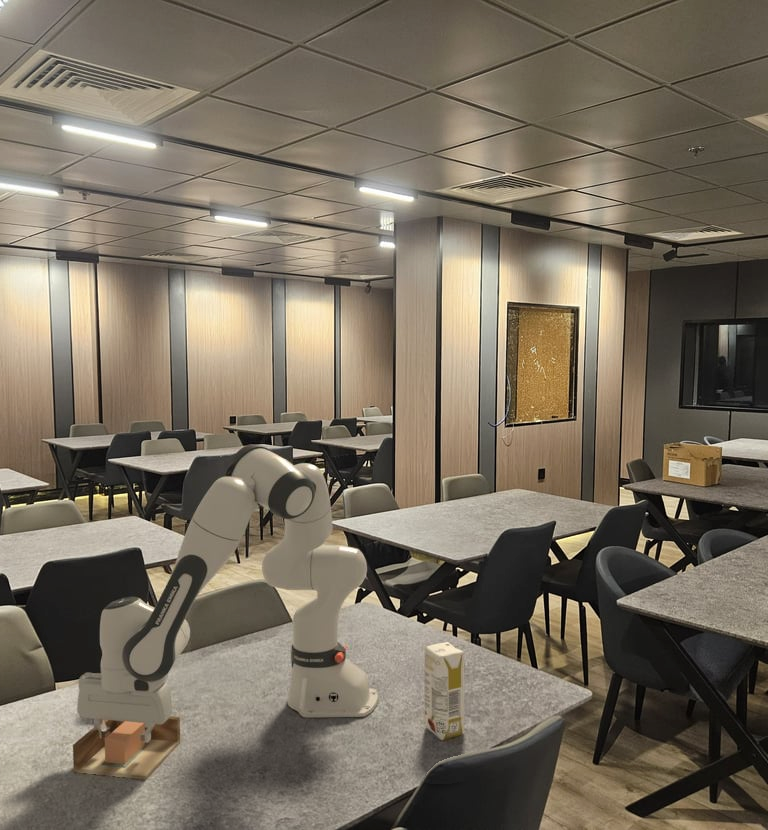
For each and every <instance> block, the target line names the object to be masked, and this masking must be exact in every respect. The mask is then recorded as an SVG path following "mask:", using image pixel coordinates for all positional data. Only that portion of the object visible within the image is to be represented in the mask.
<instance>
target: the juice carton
mask: <svg viewBox="0 0 768 830" xmlns="http://www.w3.org/2000/svg"><path fill="white" fill-rule="evenodd" d="M424 650H425V651H424V723H425V728H426V729H427V730H428V731H429V732H431V733H432V734H434V735H435V737H436V738H438V739H439V740H440V741H443V740H448V739H451V738H454V737H458V736H462V735H464V734H465V724H466V723H465V717H466V716H465V715H466V713H465V711H466V710H465V709H466V707H465V706H466V705H465V704H466V703H465V701H466V700H465V699H466V697H465V696H466V693H465V692H466V691H465V689H466V688H465V687H466V686H465V683H466V682H465V679H466V677H465V674H466V673H465V667H466V666H465V665H466V663H465V662H466V661H465V651H463V650H461V649H459V648H456V647H454V645H452V644H451V643H450V642H447V641H446V642H442V643H441V642H440V643H435V644H431V645H427V646H425V647H424Z"/></svg>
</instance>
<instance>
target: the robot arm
mask: <svg viewBox="0 0 768 830" xmlns="http://www.w3.org/2000/svg"><path fill="white" fill-rule="evenodd" d="M224 475H225V476H221V477H219V478H218V479H217V480H215V481H214V482H213V484H212V485H211V486H210V488H209V489H208V490H207V492H206V493H205V494H204V496H203V497H202V499H201V501H200V502H199V504H198V506H197V508H196V510H195V512H194V513H193V515H192V517H191V520H190V521H189V525H187V529H186V530H185V531H186V532H185V533H184V537H183V539H182V542H181V545H180V549H179V551H178V554H177V557H176V561H175V563H174V565H173V568H172V571H171V574H170V577H169V579H168V580H167V583H166V585H165V587H164V589H163V591H162V593H161V595H160V597H159V599H158V601H157V603H156V605H155V607H154V606H152V605H149V604H147V603H146V602H145V601H143V600H142V599H141V598H139V597H137V596H127V597H122V598H119V599H117V600H114V601H111V602H110V603H109V604H107V605H106V606H105V607H104V608H103V610H102V611H101V615H100V623H99V645H100V649H101V653H102V656H101V660H100V673H99V672H97V673H96V672H95V673H93V672H85V673H84V674H82V675H81V676H80V677H79V679H78V690H79V691H78V697H77V706H76V707H77V708H76V711H77V714H78V716H79V717H80V718H83V719H93V724H94V725H95V726H96V727H97V729H98V730H99V737H100V738H102V739H105V738H106V737H107V736H108V735H109V734H110V728H109V727H106V725H105V722H104V720H115V721H127V722H139V723H145V727H147V730H146V731H144V732H143V733H142V734H141V735H140V738H141V742H147V743H148V742H149V741H150V740H151V731H152V729H153V727H154V726H155V724H163V723H164V722H166V721H167V720H168V719H169V717H170V716H172V714H173V703H172V702H173V701H172V700H173V699H172V693H171V688H170V687H169V685H168V684H167V683H166V682H167V680H168V677H169V672H171V669H172V668H173V665H174V664H175V662H176V661H177V659H178V658H179V656H180V655H181V654H182V652H183V651H184V649H185V648H186V646H187V645H188V643H189V641H190V639H191V632H192V631H191V630H192V629H191V626H190V624H189V621H188V620H187V619H186V618H187V616H188V614H189V612H190V610H191V609H192V606H193V604H194V602H195V601H196V599H197V598H198V596H199V594H200V593H201V592H202V591H203V590H204V588H205V587H206V585H208V584H209V582H211V580H212V579H213V578H214V577H215V576H216V575H217V574H218V573H219V572H220V571H221V570H222V569H223V567H225V565H226V564H227V563H228V561H229V560H230V559H231V557H232V556H233V554H234V553H235V551H236V550H237V548H238V547H239V544H240V542H241V540H242V538H243V536H244V534H245V532H246V530H247V527H248V524H249V521H250V518H251V516H252V514H253V513H254V512H256V510H257V509H259V507H260V506H262V507H263V508H264V509H266V510H268V511H270V512H271V513H272V514H273V515H274V516H277V517H278V518H282V519H283V521H284V535H283V537H282V539H281V541H279V542H278V543H277V544H276V545H275V546H273V547H271V548H270V549H269V550H268V551H267V552H266V554H265V555H264V557H263V560H262V564H261V569H262V570H261V572H262V576H263V578H264V581H265V582H266V583H267V585H268V586H270V587H273V588H276V589H281V590H282V589H283V590H287V591H314V592H316V593H317V596H316V597H315V598H314V599H313V600H310V601H308V602H306V603H304V604H303V605H301V606H299V607H298V608H297V609H296V610H295V612H294V613H293V617H292V644H291V647H290V648H291V649H290V663H291V668H292V673H291V682H290V687H289V693H288V697H287V699H286V703H287V705H288V707H289V708H291V709H292V710H294V711H296V712H298V713H299V715H300V716H301V717H303V718H362V717H366V716H368V715H369V714H371V713H372V712H373V711H374V710H375V709H376V707H377V705H378V703H379V693H378V692H377V690H376V689H375V688H371V687H370V684H369V680H368V676H367V674H366V673H365V671H364V670H363V669H361V668H360V667H359V666H357V665H355V664H354V663H353V662H351V660H349V659H348V658H346V657H347V654H346V651H347V644H344V646H343V645H342V644H340V642H339V641H338V640H339V639H338V638H339V637H338V636H339V635H338V632H339V629H338V628H339V617H340V612H341V609H342V607H343V604H344V602H345V600H346V599H347V598H348V597H349V595H350V594H351V593H352V592H354V591H355V590H357V588H358V589H359V587H360V586H361V585H362V584H363V582H364V580H365V579H366V576H367V572H368V565H367V559H366V558H365V556H364V553H363V552H362V550H360V549H359V548H357V547H351V546H347V545H341V544H340V545H339V544H325V543H326V542H327V540H328V539H329V538H330V537H331V534H332V533H333V528H334V526H333V518H332V517H333V515H332V506H331V500H330V499H331V498H330V493H329V489H328V485H327V482H326V478H325V476H324V473H323V471H322V470H321V469H320V468H319V467H318V466H316V465H314V464H312V463H307V462H306V463H305V462H301V463H297V464H293V463H292V462H291V461H289V460H287V459H285V458H284V457H282V456H280V455H278V454H277V453H274V452H273V451H271V450H270V449H269V448H267V447H266V446H262V445H260V444H252V443H250V444H246V445H245V446H242V448H240V449H239V450H238V451H237V452H236V453H235V454H234V455H233V456H232V458H231V460H230V461H229V464H228V465H227V468H226V470H225V473H224ZM258 504H259V505H258ZM95 726H94V727H95Z"/></svg>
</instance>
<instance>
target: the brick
mask: <svg viewBox="0 0 768 830" xmlns="http://www.w3.org/2000/svg"><path fill="white" fill-rule="evenodd" d="M144 731H145V723H139V722H127V721H125V722H124V723H122V724H121V725H120V726H119V727H118V728H117V729H115V730H114V731H113V732H112V733H111V734H109V735H108V736H107V737H106V738H105V762H109V763H118V764H126V763H127V762H128V761H129V760H130V759H131V758H132V757H133V756H134V755H135V754H136V753H137V752H138V751H139V750H141V749H142V748H143V747H144V746H145V742H141V738H140V735H141V734H142V733H143V732H144Z"/></svg>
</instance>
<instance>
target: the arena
mask: <svg viewBox="0 0 768 830" xmlns="http://www.w3.org/2000/svg"><path fill="white" fill-rule="evenodd" d="M180 718H181V717H180V716H173V715H171V716H170V717H169V719H168V720H167V721H166V722H164V723H163V724H155V726H154V727H153V729H152V731H151V740H150V741H149V742H148V743H147V742H145V746H144V747H143V748H142V749H141V750H139V751H138V752H137V753H136V754H135V755H134V756H133V757H132V758H131V759H130V760H129V761H128V762H127V763H126V764H118V763H109V762H105V739H102V738H100V737H99V730H98V729H97V727H96V726H94V727H92V728H91V729H90V730H89V731H88V732H87V733H86V734H84V735H83V736H82V737H81V738H79V739H78V740H77V741H75V743H73V744H72V756H73V757H72V760H73V761H72V762H73V763H72V764H73V765H72V766H73V773H74V772H77V773H76V774H83V773H87V774H86V775H93V774H96V775H95V776H102V775H106V776H105V777H112V776H115V777H114V778H122V777H125V778H124V779H132V778H134V780H142V779H143V781H146V780H148V778H149V777H150V776H151V775H152V774H153V773H154V772H155V771H156V770H157V769H158V768H159V766H160V765H162V763H163V762H164V761H165V760H166V759H167V758H168V757H169V755H170V754H171V753H172V752H173V751H174V750H175V749H176V748H177V747H178V746H179V745H180V744H181V720H180ZM104 722H105V725H106V727H109V728H110V734H111V733H112V732H113V731H114V730H115V729H117V728H118V727H119V726H120V725H121V724H122V723H124V722H125V721H115V720H104ZM146 730H147V727H145V731H146Z"/></svg>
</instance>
